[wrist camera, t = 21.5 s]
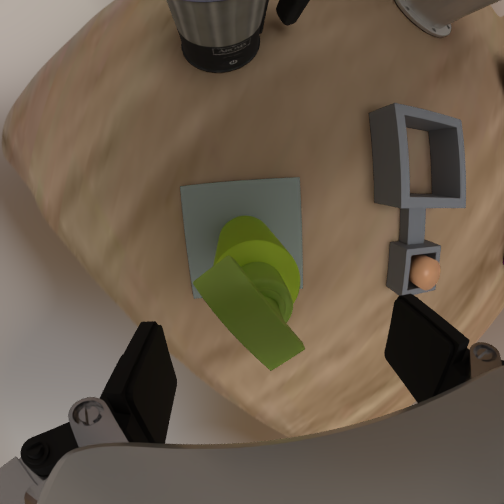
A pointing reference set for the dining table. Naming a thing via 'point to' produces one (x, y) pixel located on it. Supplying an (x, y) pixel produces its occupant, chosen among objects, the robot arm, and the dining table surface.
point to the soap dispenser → (254, 290)
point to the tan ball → (424, 271)
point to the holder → (398, 181)
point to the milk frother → (225, 29)
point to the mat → (239, 204)
